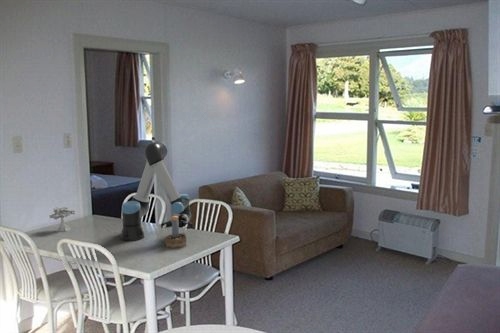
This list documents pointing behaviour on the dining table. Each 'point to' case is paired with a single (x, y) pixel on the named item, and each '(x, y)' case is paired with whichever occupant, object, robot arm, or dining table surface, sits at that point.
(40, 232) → the dining table surface
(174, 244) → the brown ring
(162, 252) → the dining table surface
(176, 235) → the grey upright bar
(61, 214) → the grey branching stemmed part
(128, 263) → the dining table surface
